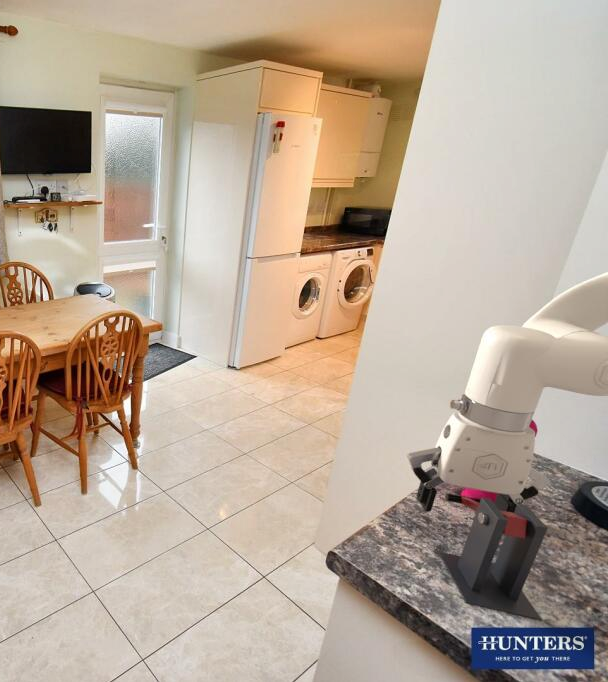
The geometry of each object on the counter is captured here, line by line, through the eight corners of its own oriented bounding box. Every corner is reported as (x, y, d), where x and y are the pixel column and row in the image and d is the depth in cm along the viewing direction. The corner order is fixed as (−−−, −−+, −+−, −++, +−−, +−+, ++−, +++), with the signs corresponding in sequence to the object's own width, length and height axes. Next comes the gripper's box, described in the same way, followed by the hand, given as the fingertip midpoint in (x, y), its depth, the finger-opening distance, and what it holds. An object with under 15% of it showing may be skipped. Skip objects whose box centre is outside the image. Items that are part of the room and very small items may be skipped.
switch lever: (443, 503, 69) (445, 488, 69) (478, 510, 67) (480, 494, 68) (493, 532, 56) (494, 513, 56) (536, 540, 55) (538, 521, 55)
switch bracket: (436, 557, 66) (460, 484, 62) (501, 571, 63) (530, 496, 59) (463, 608, 58) (493, 528, 54) (539, 626, 55) (576, 544, 51)
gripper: (433, 415, 62) (403, 516, 67) (590, 436, 57) (545, 544, 62) (414, 393, 69) (389, 486, 74) (553, 411, 64) (515, 509, 69)
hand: (460, 512), depth 68 cm, fingers open, 9 cm apart
